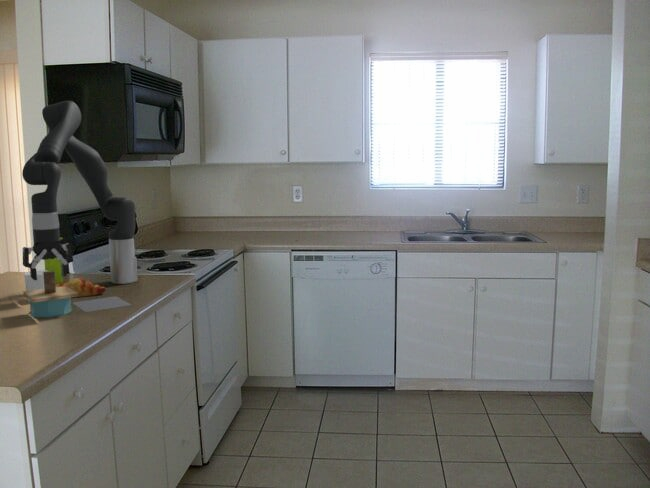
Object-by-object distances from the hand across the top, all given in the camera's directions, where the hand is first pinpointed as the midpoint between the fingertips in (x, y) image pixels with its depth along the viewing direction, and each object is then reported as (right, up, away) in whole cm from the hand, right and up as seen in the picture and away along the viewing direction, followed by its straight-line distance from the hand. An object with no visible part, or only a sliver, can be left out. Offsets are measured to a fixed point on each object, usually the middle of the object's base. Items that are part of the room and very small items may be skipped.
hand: (49, 278), depth 192 cm
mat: (+12, -10, +12) cm, 20 cm away
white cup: (-12, -9, +18) cm, 23 cm away
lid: (0, -6, +1) cm, 6 cm away
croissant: (-2, -8, +26) cm, 28 cm away
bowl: (0, -12, +2) cm, 12 cm away
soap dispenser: (-13, -7, +34) cm, 36 cm away
